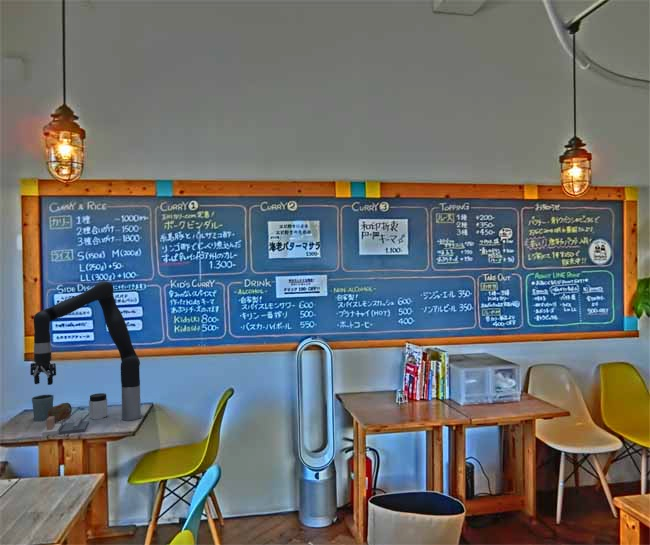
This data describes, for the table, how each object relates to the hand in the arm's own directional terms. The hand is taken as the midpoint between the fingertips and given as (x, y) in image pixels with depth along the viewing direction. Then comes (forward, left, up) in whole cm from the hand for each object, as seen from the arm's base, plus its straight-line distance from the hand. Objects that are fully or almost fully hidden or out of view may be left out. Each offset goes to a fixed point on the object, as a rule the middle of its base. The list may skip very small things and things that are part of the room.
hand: (43, 384), depth 242 cm
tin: (-4, -16, -23) cm, 29 cm away
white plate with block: (-5, +3, -23) cm, 24 cm away
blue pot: (+5, -23, -23) cm, 33 cm away
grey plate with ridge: (-14, +3, -23) cm, 27 cm away
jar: (-23, -14, -23) cm, 36 cm away
